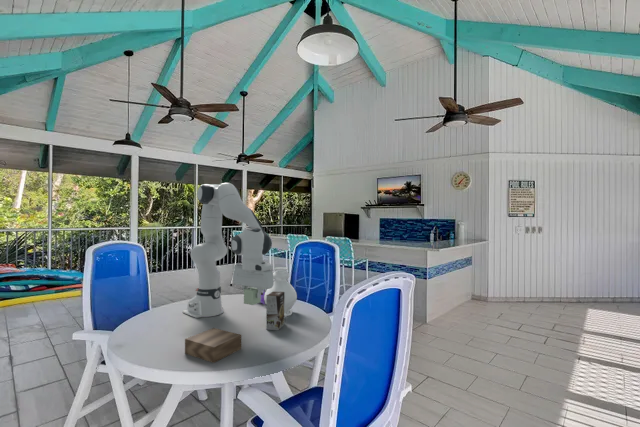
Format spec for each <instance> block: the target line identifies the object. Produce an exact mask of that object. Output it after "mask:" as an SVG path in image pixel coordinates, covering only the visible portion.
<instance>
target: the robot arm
mask: <svg viewBox="0 0 640 427" xmlns="http://www.w3.org/2000/svg"><path fill="white" fill-rule="evenodd" d="M196 197H197V200H198V201H199V203H201V204H202V207H201V208H202V209H201V212H200V213H201V215H200V216H201V217H200V232H201V234H202V235H203V239H204V242H202V243H198V244H197V245H195V246H194V247H193V248H192V249H191V250H190V258H191V260H192V261H193V263H194V264H195V265H196V268H197V272H198V288H196V289H195V292H196V294H195V295H194V296H193V297H192V298H191V299H189V300H188V302H187V308H186V309H183V310H182V313H183V314H185V315H187V316H191V317H193V318H195V319H197V318H208V317H215V316H218V315H219V316H220V315H221V314H223V312H224V307H223V304H222V303H223V302H222V295H221V293H222V287H221V273H220V271H219V269H218V268H217V265H216V262H217V261H220V260H222V259H223V258H224V257H225V256H226V255H227V254H228V247H227V245H226V244H225V242H224V238H223V237H224V236H223V231H222V230H223V228H222V227H223V216H224V217H225V218H228V219H230V220H234V221H237V222H241V223H243V224H245V225H247V227H246V226H245V227H244V228H243V231H242V232H241V233H238V234H235V235H234V236H233V237H232V239H231V241H230V249H231V251H232V252H233V253H234V254H235V255H236V256H242V257H241V263H235V265H234V266H233V273H232V283H233V285H237V286H241V289H242V291H243V292H244V289H247V288H251V287H256V288H257V290H258V293H257V294H256V296H255V297H256V298H260V297H261V293H262V291H263V289H270V288H272V287H273V284H274V281H275V280H274V278H273V273H274V272H273V269H274V265H273V264H272V263H270V262H267V261H265V260H264V256H263V255H266V254H268V253H269V252H270V250H271V249H272V245H273V243H272V242H273V241H272V239H271V237H270V235H269V234H268V233H267V232H266V231H265V229H264V227H263V226H262V224H261V222H260V221H259V219H258V217H257V216H256V214H255V212H254V211H253V210H252V209H251V208H249V207H248V206H247V205H246V204H245V203H244V202H243V200H242V198H241V194H240V190H239V188H237V187H236V186H235V185H234V184H232V183H230V182H223V183H220V184H214V183H212V184H209V183H204V184H201V185H200V186H198V189H197V193H196Z"/></svg>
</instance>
